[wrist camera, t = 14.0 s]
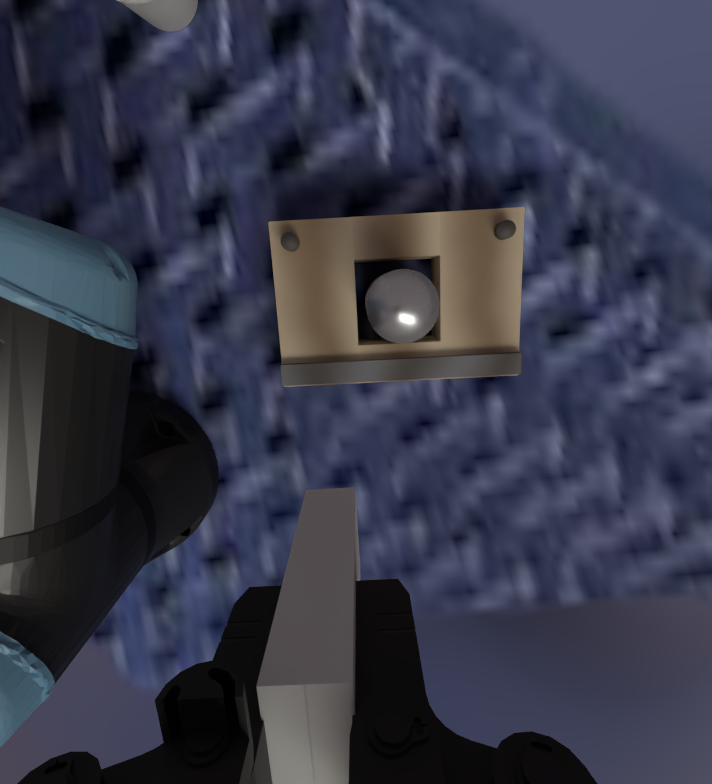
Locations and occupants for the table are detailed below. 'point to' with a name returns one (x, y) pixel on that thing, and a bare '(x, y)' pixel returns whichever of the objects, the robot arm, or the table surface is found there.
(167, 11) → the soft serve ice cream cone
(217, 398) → the table surface
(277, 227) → the plate
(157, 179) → the table surface
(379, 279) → the grey metal peg
